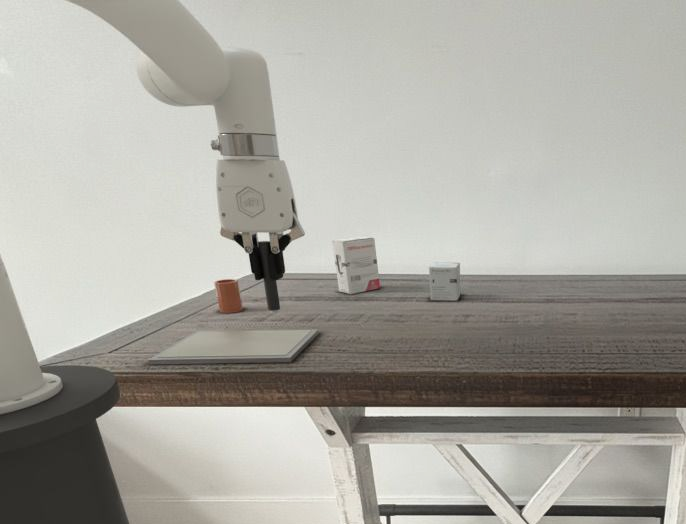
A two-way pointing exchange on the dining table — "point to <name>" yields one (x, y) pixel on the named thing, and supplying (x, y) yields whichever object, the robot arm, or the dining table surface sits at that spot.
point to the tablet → (237, 347)
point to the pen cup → (228, 295)
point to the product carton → (444, 281)
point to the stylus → (268, 278)
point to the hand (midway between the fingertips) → (269, 277)
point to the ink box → (356, 264)
